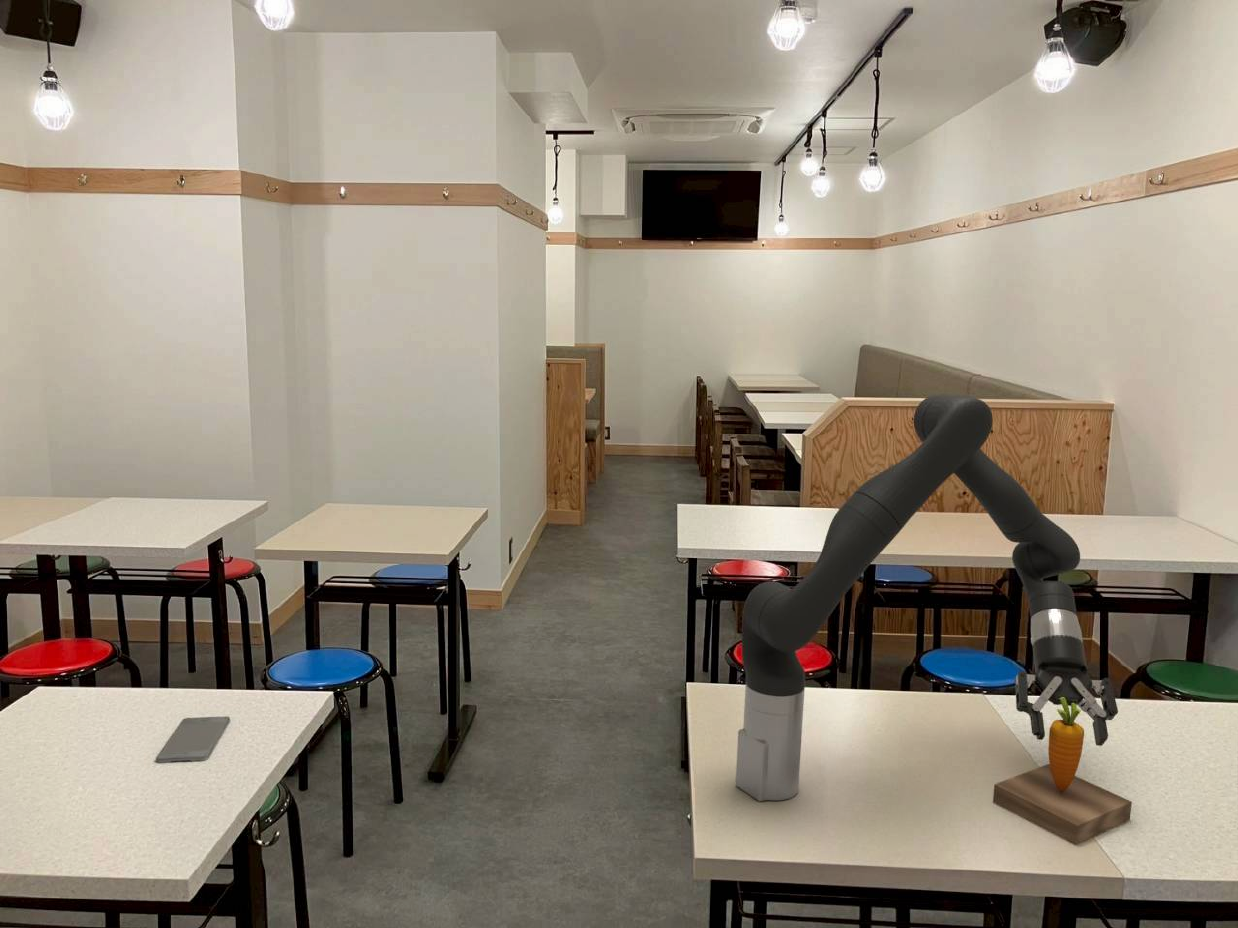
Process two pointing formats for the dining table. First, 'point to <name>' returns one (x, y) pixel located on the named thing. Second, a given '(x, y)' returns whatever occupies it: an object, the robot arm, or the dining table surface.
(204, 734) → the phone
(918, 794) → the dining table surface
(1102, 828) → the walnut plinth
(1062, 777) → the carrot
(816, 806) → the dining table surface
